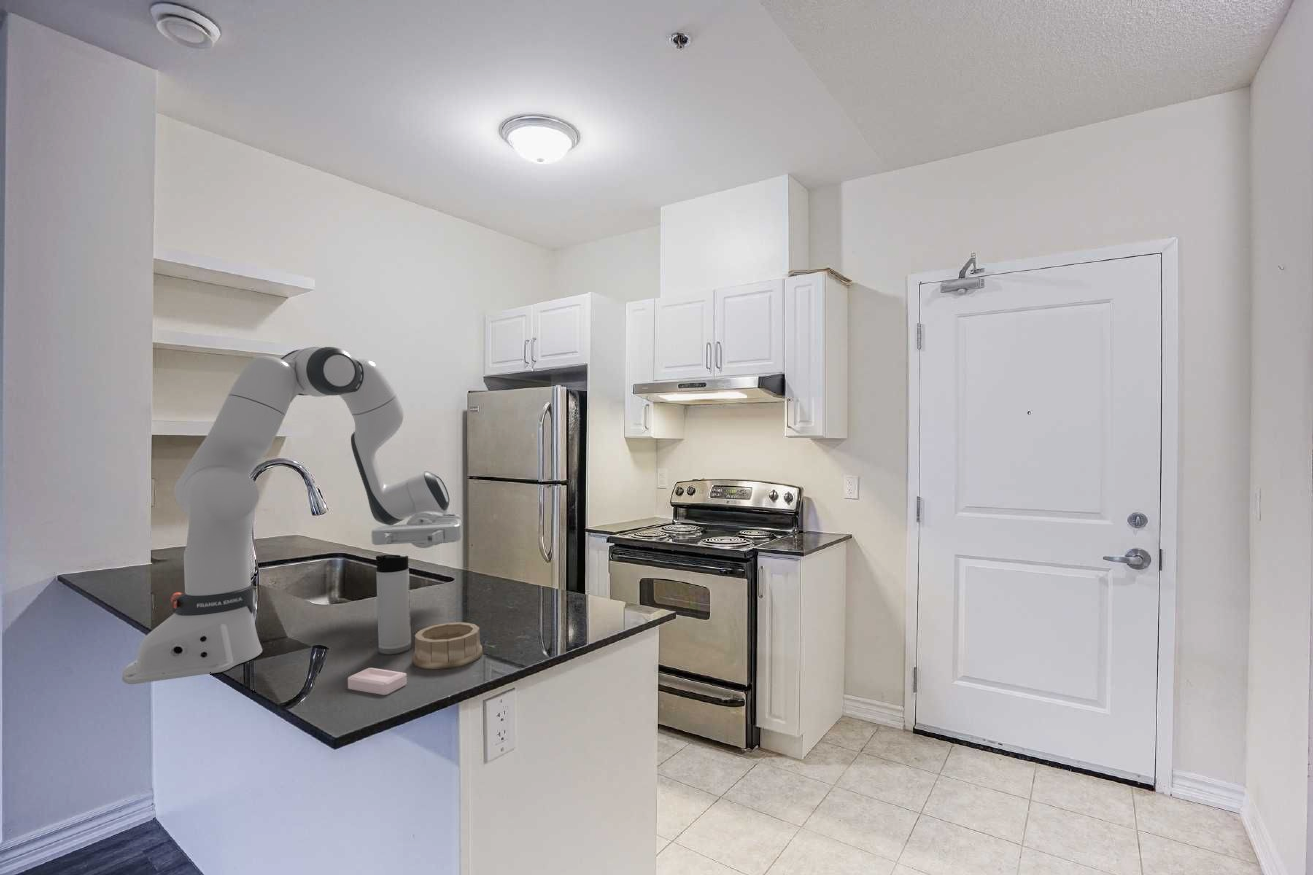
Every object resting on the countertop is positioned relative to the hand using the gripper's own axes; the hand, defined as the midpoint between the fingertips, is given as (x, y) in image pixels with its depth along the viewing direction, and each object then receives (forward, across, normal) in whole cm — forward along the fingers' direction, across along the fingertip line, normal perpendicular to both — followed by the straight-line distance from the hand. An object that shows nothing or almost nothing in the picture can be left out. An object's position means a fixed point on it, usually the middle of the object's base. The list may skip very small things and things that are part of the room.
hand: (409, 539), depth 146 cm
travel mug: (+12, 0, +21) cm, 24 cm away
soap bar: (+32, +2, +21) cm, 38 cm away
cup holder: (+18, +12, +21) cm, 30 cm away
